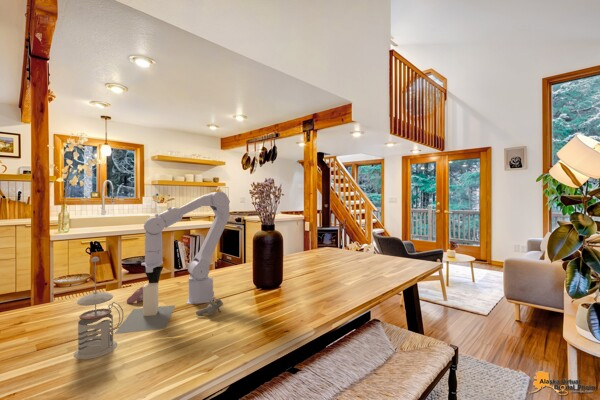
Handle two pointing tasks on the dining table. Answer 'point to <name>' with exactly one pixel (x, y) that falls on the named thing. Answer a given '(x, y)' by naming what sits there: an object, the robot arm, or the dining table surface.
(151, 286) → the cream block
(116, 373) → the dining table surface
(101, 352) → the french press
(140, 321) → the slate mat
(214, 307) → the grey toy figure
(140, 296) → the video game controller
